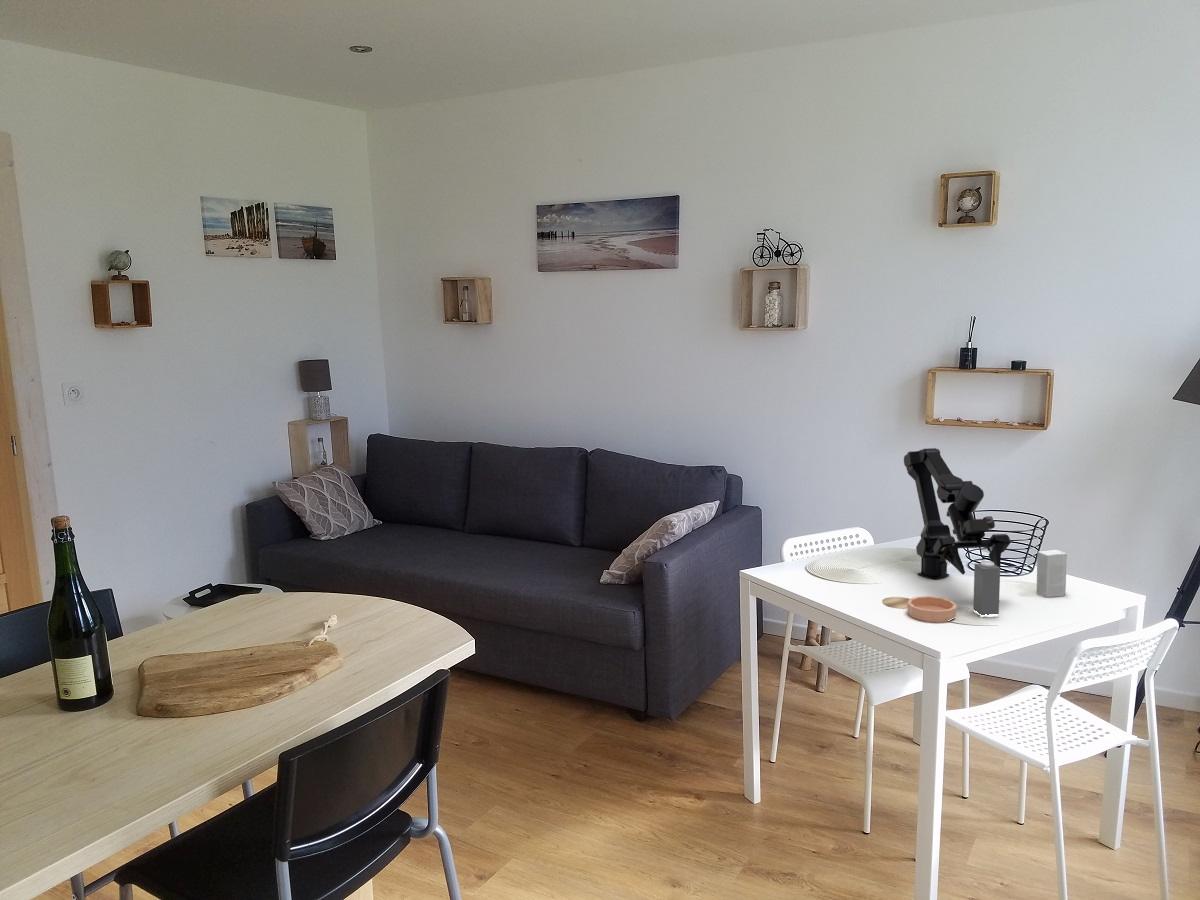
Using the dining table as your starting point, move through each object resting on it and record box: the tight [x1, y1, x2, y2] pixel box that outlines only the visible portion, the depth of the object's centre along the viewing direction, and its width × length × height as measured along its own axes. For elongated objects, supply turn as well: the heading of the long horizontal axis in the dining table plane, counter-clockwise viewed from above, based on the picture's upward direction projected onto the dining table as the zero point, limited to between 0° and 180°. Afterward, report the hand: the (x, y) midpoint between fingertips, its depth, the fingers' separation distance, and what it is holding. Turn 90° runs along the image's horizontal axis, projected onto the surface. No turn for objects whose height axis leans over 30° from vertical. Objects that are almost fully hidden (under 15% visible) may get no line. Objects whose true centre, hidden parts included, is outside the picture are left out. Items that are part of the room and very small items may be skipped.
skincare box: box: [1036, 549, 1068, 599], centre depth 233 cm, size 6×4×12 cm
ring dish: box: [906, 595, 958, 624], centre depth 222 cm, size 12×12×3 cm
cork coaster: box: [881, 596, 910, 610], centre depth 232 cm, size 9×9×1 cm
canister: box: [972, 560, 1001, 615], centre depth 220 cm, size 4×4×14 cm
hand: (981, 572), depth 223 cm, fingers open, 9 cm apart
